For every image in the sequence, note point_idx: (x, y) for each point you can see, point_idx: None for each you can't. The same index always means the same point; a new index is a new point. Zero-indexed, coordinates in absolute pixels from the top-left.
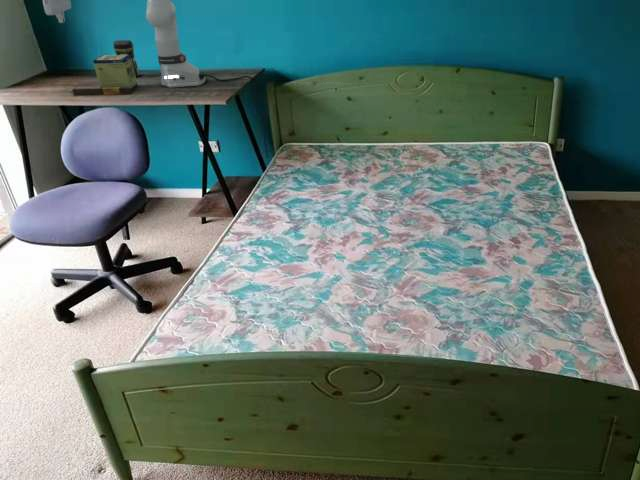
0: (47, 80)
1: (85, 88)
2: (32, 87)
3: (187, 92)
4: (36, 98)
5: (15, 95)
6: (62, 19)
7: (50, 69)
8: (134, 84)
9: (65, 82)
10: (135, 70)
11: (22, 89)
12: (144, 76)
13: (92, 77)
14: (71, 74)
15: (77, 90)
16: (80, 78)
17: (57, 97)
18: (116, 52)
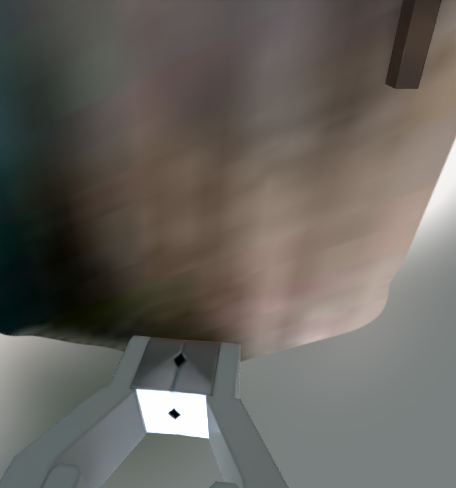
0: (144, 288)
1: (429, 3)
2: (235, 301)
3: None
4: (402, 237)
5: (333, 315)
6: (208, 377)
7: (13, 324)
8: None
9: (168, 217)
10: None
11: (258, 320)
12: None
13: (79, 130)
14: (54, 239)
15: (424, 57)
16: (103, 180)
17: (417, 156)
18: None
